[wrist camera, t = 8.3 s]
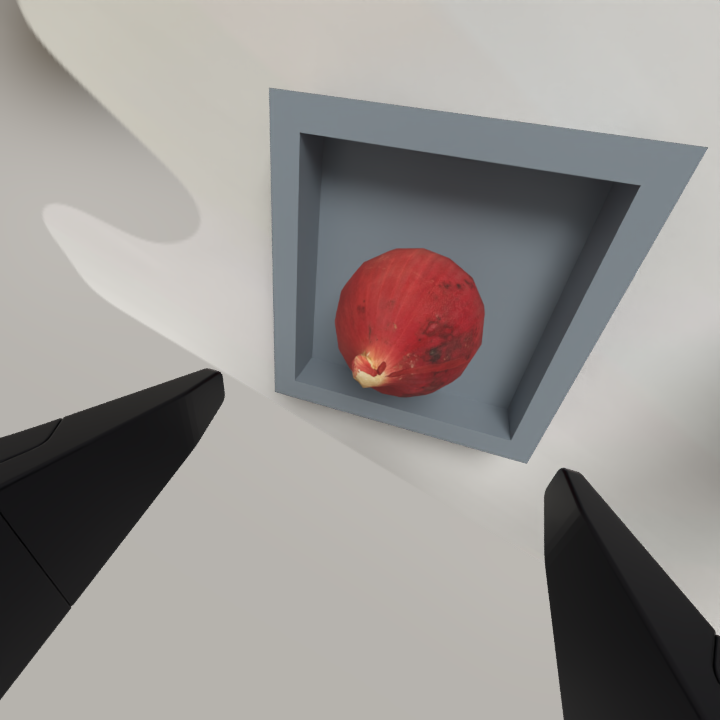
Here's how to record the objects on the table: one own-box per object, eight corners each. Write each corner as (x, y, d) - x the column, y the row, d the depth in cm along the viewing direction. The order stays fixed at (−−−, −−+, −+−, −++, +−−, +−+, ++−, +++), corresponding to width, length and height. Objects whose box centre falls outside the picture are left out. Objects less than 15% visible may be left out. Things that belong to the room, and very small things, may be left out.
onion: (499, 227, 15) (470, 299, 9) (488, 348, 18) (460, 467, 12) (368, 230, 17) (271, 289, 11) (377, 337, 20) (305, 432, 14)
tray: (659, 144, 13) (708, 147, 10) (520, 419, 21) (526, 463, 18) (307, 95, 16) (269, 87, 13) (299, 360, 23) (275, 391, 21)
